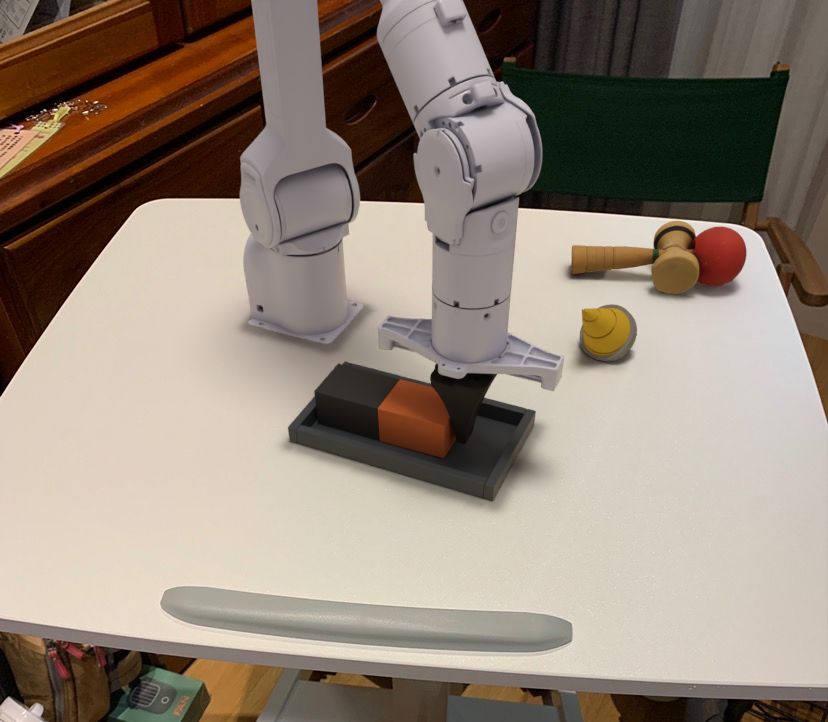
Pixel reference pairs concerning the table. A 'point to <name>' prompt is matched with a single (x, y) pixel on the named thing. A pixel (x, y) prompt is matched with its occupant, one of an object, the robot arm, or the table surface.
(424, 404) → the orange block
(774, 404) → the table surface
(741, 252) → the kendama
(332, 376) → the black block
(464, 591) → the table surface
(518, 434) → the tray
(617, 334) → the spiral yellow cone
